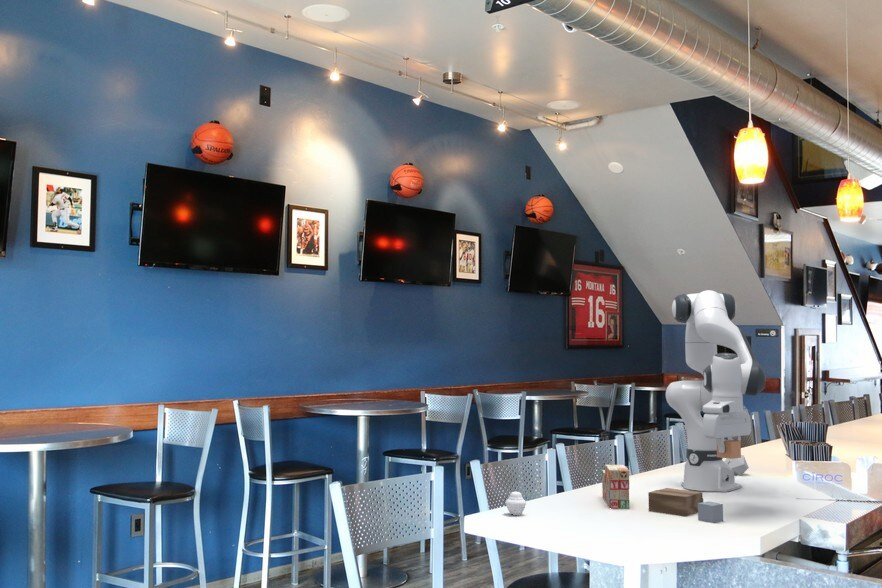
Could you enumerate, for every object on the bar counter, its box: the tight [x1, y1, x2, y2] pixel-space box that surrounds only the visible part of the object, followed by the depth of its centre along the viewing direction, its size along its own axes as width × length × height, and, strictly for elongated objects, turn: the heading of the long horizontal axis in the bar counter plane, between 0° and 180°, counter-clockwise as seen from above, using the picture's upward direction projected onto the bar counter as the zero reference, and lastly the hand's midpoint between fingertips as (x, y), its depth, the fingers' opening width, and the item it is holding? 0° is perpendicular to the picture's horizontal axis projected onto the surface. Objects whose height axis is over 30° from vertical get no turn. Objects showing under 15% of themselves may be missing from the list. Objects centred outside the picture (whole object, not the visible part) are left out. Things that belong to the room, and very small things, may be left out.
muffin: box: [505, 490, 527, 516], centre depth 239 cm, size 6×6×7 cm
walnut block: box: [647, 487, 704, 518], centre depth 246 cm, size 12×12×6 cm
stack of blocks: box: [601, 464, 630, 510], centre depth 260 cm, size 21×6×12 cm, turn 175°
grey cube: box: [697, 501, 724, 524], centre depth 232 cm, size 5×5×5 cm
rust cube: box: [717, 439, 742, 459], centre depth 242 cm, size 5×5×5 cm
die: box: [723, 454, 750, 477], centre depth 324 cm, size 8×9×10 cm
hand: (728, 451), depth 242 cm, fingers closed on rust cube, 5 cm apart
